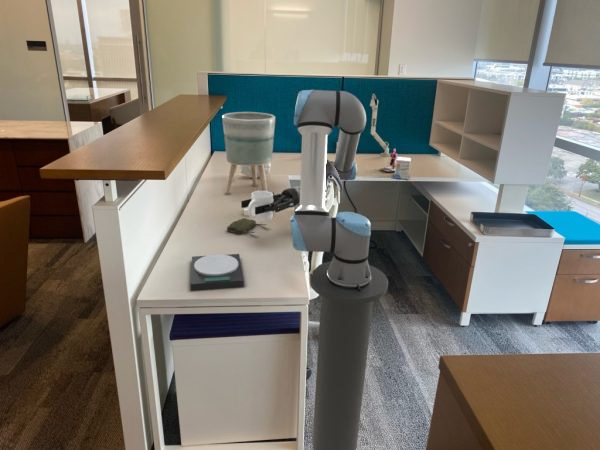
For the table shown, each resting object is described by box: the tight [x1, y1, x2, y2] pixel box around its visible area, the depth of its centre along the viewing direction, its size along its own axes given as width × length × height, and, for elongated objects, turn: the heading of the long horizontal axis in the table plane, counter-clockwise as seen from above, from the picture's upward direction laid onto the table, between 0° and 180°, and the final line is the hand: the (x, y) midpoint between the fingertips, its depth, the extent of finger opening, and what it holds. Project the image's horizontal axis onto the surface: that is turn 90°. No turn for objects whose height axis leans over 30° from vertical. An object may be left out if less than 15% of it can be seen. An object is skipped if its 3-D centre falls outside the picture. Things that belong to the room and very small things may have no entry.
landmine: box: [226, 217, 268, 238], centre depth 191 cm, size 14×3×15 cm
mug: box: [248, 190, 274, 223], centre depth 172 cm, size 12×8×10 cm
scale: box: [190, 253, 245, 291], centre depth 153 cm, size 20×17×3 cm
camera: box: [239, 162, 272, 179], centre depth 261 cm, size 11×18×16 cm, turn 97°
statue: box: [379, 148, 398, 173], centre depth 286 cm, size 11×9×15 cm
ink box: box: [393, 156, 412, 180], centre depth 274 cm, size 9×8×12 cm
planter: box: [221, 111, 276, 195], centre depth 231 cm, size 26×26×40 cm
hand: (248, 207), depth 169 cm, fingers closed on mug, 8 cm apart
